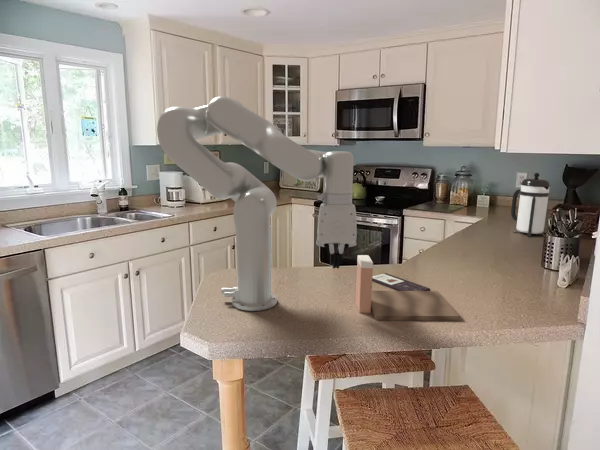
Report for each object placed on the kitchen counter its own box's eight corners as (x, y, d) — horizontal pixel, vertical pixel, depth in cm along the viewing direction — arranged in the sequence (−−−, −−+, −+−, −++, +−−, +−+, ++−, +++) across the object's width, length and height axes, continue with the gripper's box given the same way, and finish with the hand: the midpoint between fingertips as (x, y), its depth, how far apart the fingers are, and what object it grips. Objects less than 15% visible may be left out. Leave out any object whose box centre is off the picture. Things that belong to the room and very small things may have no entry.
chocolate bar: (411, 294, 127) (367, 277, 141) (410, 297, 127) (367, 280, 141) (430, 288, 132) (386, 273, 146) (429, 291, 132) (385, 275, 146)
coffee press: (547, 232, 214) (555, 172, 207) (545, 239, 200) (554, 174, 194) (509, 228, 223) (516, 170, 216) (505, 234, 209) (512, 172, 203)
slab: (359, 312, 114) (361, 262, 111) (355, 302, 121) (357, 255, 118) (370, 312, 114) (373, 262, 112) (366, 302, 121) (368, 255, 118)
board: (375, 319, 110) (375, 315, 110) (364, 294, 128) (364, 290, 127) (460, 320, 110) (461, 316, 110) (437, 294, 128) (437, 291, 128)
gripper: (309, 201, 108) (308, 271, 111) (368, 201, 108) (365, 271, 112) (308, 197, 115) (307, 262, 119) (363, 197, 115) (361, 263, 119)
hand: (335, 266), depth 115 cm, fingers closed
